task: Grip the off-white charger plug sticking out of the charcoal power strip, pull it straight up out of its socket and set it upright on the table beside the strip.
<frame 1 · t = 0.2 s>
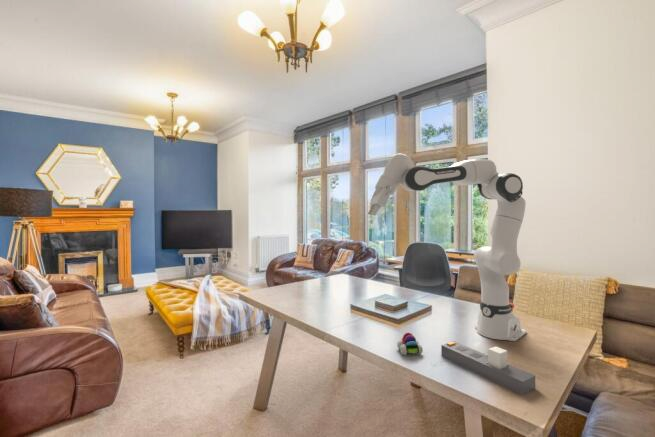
hand: (371, 214, 142), 54 cm above the table, tool tilted 30°, fingers open, 8 cm apart
power strip: (483, 373, 111), on the table
charger plug: (497, 376, 106), point 1 cm above the table, touching power strip
multicoloured domed toy: (409, 352, 127), on the table
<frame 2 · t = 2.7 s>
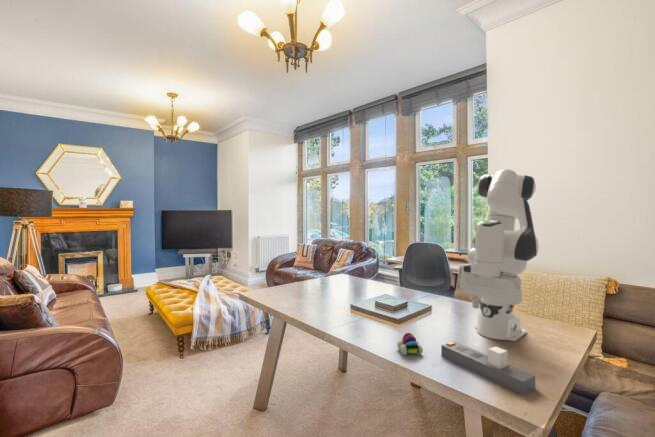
hand: (488, 311, 106), 23 cm above the table, tool pointing down, fingers open, 8 cm apart
nothing on the table moved.
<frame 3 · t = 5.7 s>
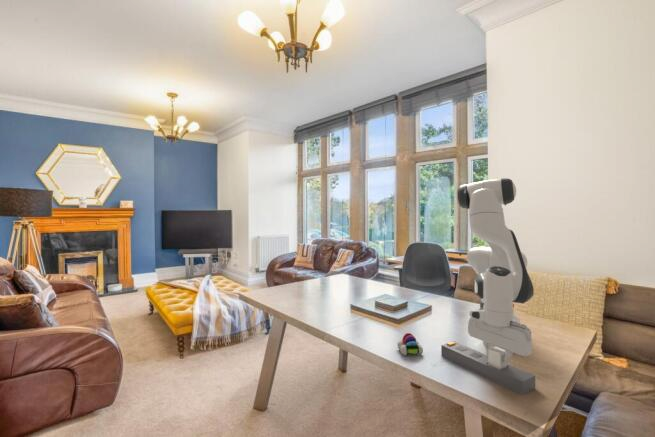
hand: (497, 358, 106), 7 cm above the table, tool pointing down, fingers closed on charger plug, 4 cm apart
charger plug: (497, 376, 106), point 1 cm above the table, touching gripper, power strip
everything else where it was.
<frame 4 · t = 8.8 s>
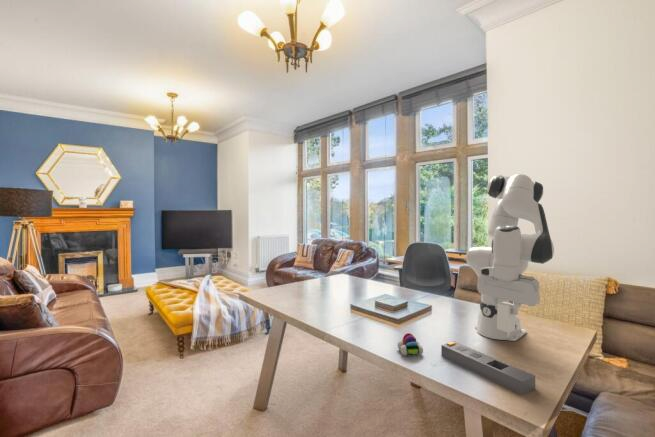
hand: (506, 312, 111), 21 cm above the table, tool pointing down, fingers closed on charger plug, 4 cm apart
charger plug: (506, 329, 112), point 15 cm above the table, touching gripper
everything else where it was.
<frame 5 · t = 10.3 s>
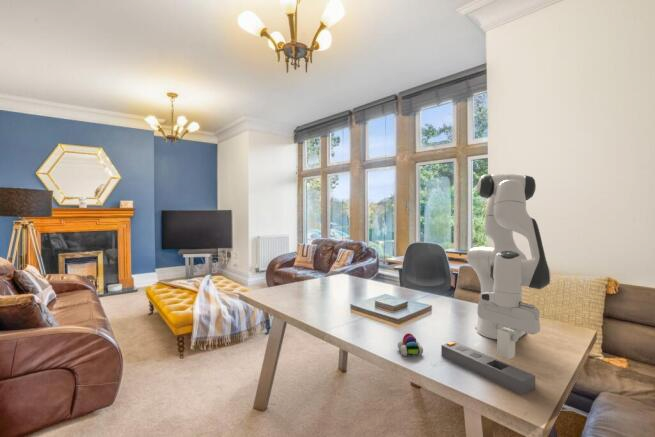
hand: (506, 338, 111), 12 cm above the table, tool pointing down, fingers closed on charger plug, 4 cm apart
charger plug: (505, 355, 112), point 6 cm above the table, touching gripper
everything else where it was.
when the fingers open (8 cm above the table, at t = 11.9 s): charger plug drops 1 cm, on the table.
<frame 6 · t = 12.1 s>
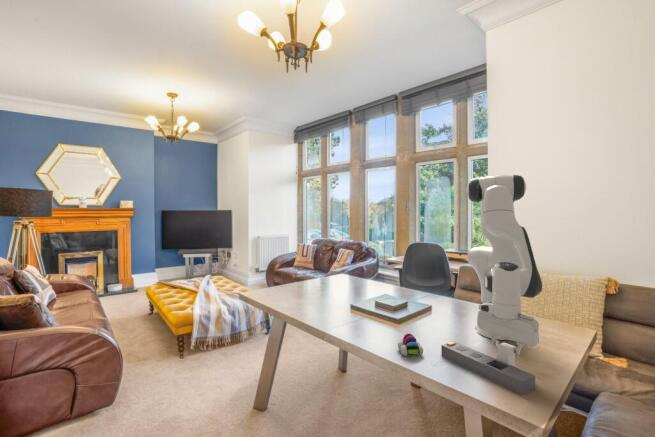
hand: (505, 349, 112), 8 cm above the table, tool pointing down, fingers open, 6 cm apart
charger plug: (505, 371, 112), on the table
everything else where it was.
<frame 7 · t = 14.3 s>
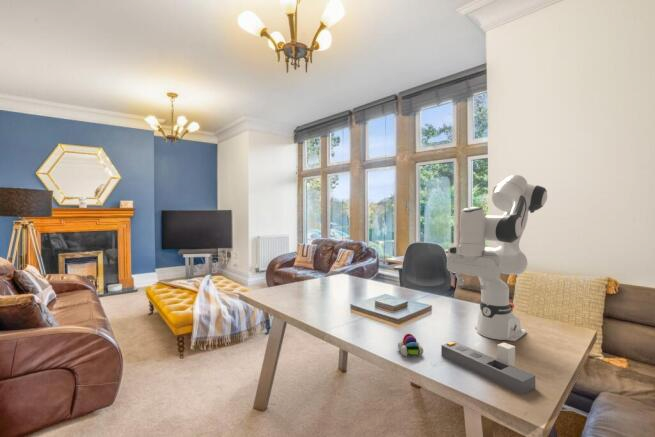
hand: (472, 287, 121), 27 cm above the table, tool pointing down, fingers open, 8 cm apart
nothing on the table moved.
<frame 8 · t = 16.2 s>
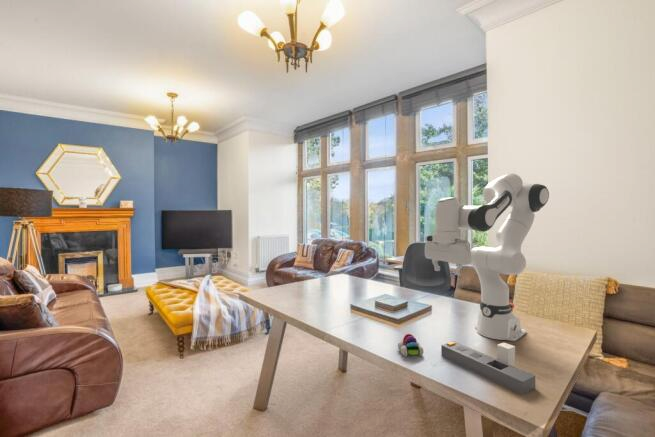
hand: (446, 272, 128), 31 cm above the table, tool pointing down, fingers open, 8 cm apart
at the end: charger plug inside the target area (0.5 cm from its centre), on the table; charger plug tilted 0°; the gripper is holding nothing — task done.
